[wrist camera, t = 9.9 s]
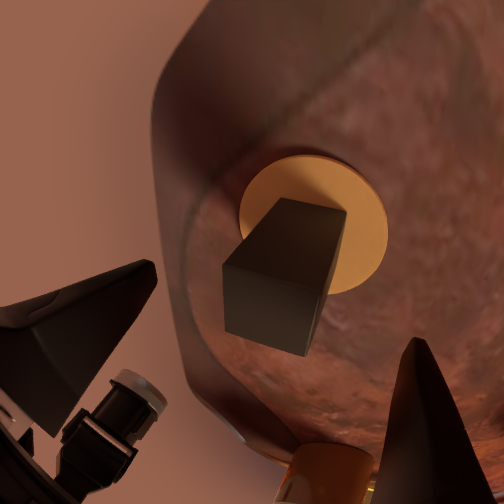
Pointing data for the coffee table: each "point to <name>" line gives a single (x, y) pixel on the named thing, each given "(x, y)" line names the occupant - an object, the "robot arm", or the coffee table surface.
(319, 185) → the coaster
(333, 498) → the jar
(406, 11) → the coffee table surface
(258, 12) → the coffee table surface
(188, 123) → the coffee table surface
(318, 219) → the block
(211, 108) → the coffee table surface
